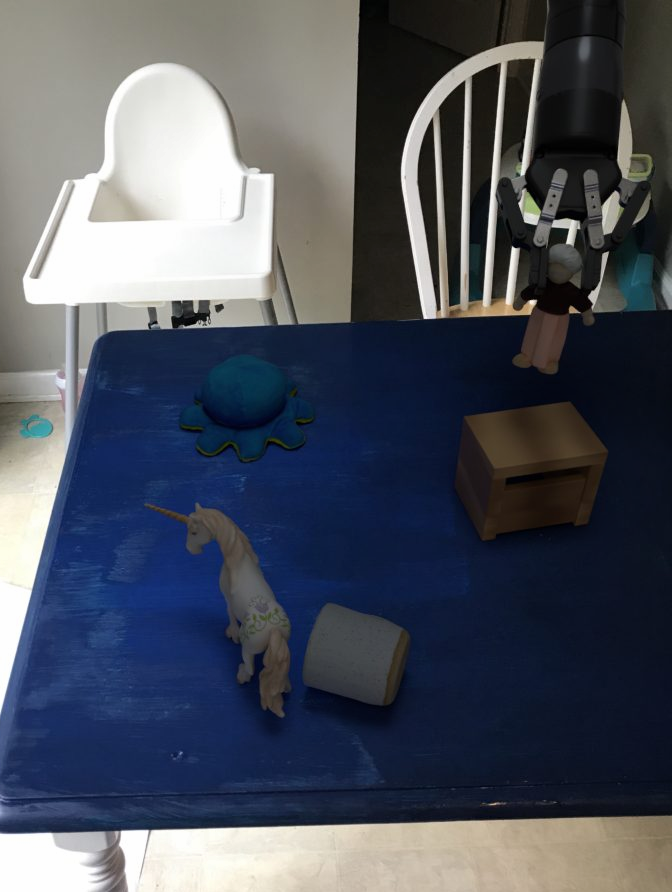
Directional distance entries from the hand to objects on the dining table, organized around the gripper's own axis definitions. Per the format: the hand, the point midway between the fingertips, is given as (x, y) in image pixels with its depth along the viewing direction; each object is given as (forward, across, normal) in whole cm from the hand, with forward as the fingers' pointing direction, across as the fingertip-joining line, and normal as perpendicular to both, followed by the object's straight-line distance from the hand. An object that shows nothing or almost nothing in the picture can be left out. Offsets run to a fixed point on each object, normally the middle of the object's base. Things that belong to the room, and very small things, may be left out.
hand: (562, 292), depth 75 cm
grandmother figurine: (+5, 0, -8) cm, 9 cm away
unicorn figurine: (+36, +28, 0) cm, 46 cm away
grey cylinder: (+36, +15, 0) cm, 39 cm away
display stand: (+18, 0, -18) cm, 26 cm away
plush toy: (+10, +33, -27) cm, 44 cm away
